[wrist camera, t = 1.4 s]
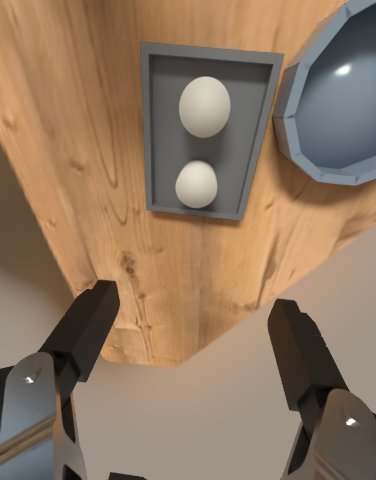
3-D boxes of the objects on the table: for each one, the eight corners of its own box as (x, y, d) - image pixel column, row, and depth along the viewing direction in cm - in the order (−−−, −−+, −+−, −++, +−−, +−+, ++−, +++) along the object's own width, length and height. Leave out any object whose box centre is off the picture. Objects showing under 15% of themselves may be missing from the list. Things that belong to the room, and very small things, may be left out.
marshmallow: (182, 131, 25) (177, 135, 21) (185, 80, 22) (180, 74, 18) (223, 135, 25) (225, 139, 21) (231, 84, 22) (235, 79, 18)
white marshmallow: (179, 193, 29) (174, 205, 26) (181, 156, 27) (176, 164, 23) (213, 197, 29) (213, 210, 25) (219, 160, 26) (220, 169, 23)
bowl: (258, 167, 27) (266, 176, 24) (305, -12, 19) (329, -43, 15) (379, 179, 27) (407, 191, 23) (486, 1, 18) (559, -27, 14)
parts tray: (150, 203, 32) (146, 209, 30) (146, 48, 22) (140, 41, 20) (239, 213, 31) (242, 220, 29) (277, 59, 21) (284, 53, 19)
